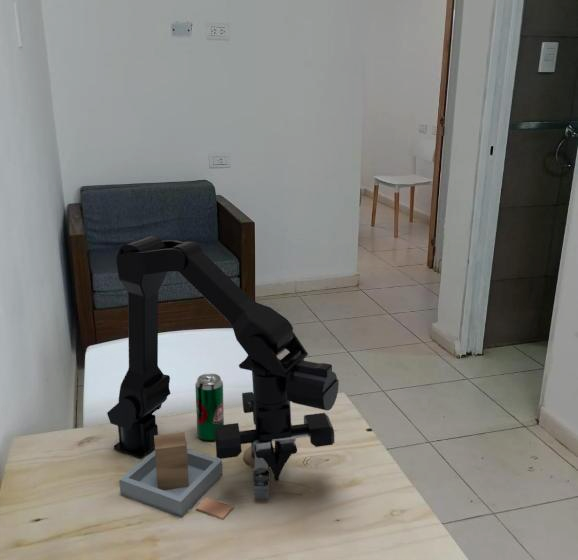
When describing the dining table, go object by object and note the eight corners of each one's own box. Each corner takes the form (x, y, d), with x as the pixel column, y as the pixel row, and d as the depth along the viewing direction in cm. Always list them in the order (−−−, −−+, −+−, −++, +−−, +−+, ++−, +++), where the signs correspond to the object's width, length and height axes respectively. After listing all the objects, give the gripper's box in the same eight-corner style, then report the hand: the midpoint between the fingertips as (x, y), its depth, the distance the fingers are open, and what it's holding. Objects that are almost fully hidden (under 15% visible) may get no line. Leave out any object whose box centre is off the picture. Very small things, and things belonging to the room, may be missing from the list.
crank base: (192, 508, 98) (192, 505, 98) (254, 443, 115) (254, 441, 115) (226, 521, 95) (226, 518, 95) (284, 452, 113) (284, 450, 112)
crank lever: (251, 448, 112) (251, 428, 111) (270, 448, 113) (271, 428, 111) (250, 500, 99) (249, 478, 98) (272, 499, 99) (272, 478, 98)
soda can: (219, 444, 115) (217, 386, 111) (193, 440, 116) (191, 383, 112) (227, 429, 120) (226, 373, 116) (202, 426, 121) (200, 371, 117)
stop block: (156, 476, 105) (154, 435, 102) (186, 472, 106) (184, 431, 103) (157, 491, 101) (155, 449, 98) (188, 486, 102) (186, 445, 100)
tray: (120, 494, 101) (119, 479, 100) (165, 456, 111) (164, 441, 110) (181, 517, 96) (180, 501, 95) (222, 475, 106) (222, 460, 105)
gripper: (319, 366, 105) (321, 445, 110) (210, 378, 103) (217, 458, 108) (334, 398, 95) (335, 483, 100) (212, 412, 92) (220, 499, 97)
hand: (276, 479), depth 102 cm, fingers closed
